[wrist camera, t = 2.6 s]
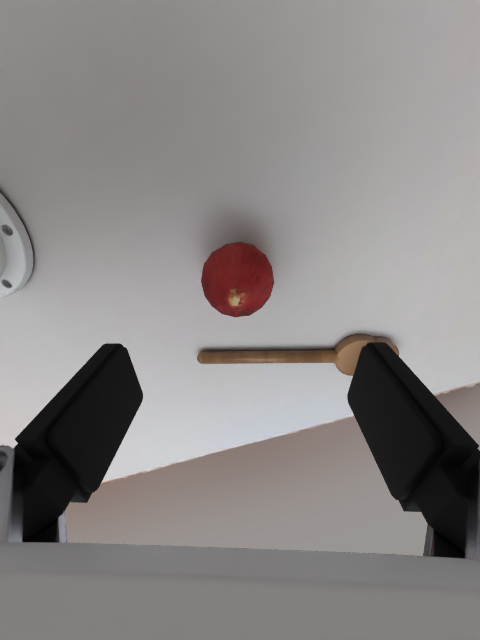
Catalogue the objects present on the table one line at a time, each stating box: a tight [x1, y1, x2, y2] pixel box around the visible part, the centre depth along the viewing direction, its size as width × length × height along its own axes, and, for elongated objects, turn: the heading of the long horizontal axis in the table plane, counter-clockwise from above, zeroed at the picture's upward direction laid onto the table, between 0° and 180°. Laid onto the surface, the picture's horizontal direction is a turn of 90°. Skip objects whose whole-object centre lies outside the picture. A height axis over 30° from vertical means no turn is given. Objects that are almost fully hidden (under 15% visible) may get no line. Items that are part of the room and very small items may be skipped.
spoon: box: [197, 334, 399, 376], centre depth 26 cm, size 23×5×1 cm, turn 92°
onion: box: [201, 242, 274, 317], centre depth 18 cm, size 6×6×8 cm
